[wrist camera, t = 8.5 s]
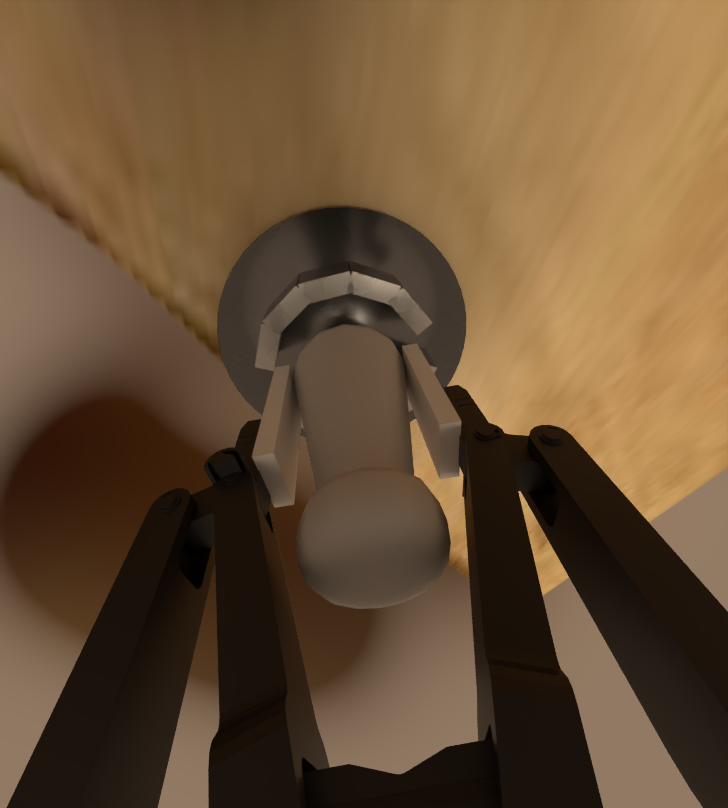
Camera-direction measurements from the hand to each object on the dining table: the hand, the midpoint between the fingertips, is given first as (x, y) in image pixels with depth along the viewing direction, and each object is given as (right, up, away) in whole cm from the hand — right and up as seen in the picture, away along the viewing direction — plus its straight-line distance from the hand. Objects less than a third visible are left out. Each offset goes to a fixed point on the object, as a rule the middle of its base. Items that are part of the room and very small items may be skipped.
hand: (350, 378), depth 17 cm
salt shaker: (0, +1, +2) cm, 3 cm away
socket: (0, +3, +4) cm, 5 cm away
